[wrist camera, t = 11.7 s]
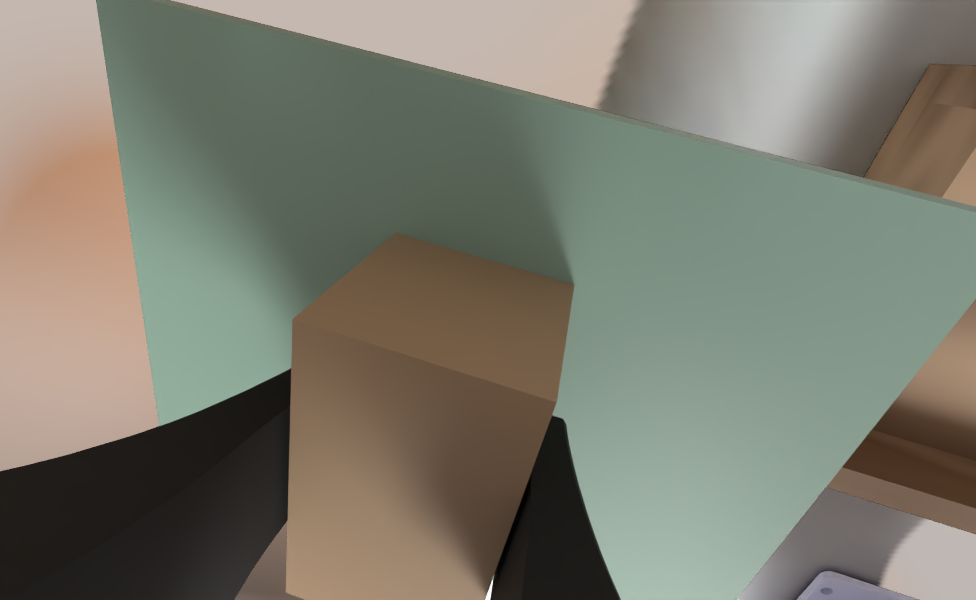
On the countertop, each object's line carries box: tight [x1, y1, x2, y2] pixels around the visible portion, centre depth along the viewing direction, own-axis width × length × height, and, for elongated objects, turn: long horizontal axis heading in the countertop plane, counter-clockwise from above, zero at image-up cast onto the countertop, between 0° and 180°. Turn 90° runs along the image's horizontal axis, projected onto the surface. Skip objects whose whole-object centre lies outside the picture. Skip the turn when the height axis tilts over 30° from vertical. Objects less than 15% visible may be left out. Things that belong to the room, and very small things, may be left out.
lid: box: [96, 0, 976, 600], centre depth 11 cm, size 14×18×5 cm
